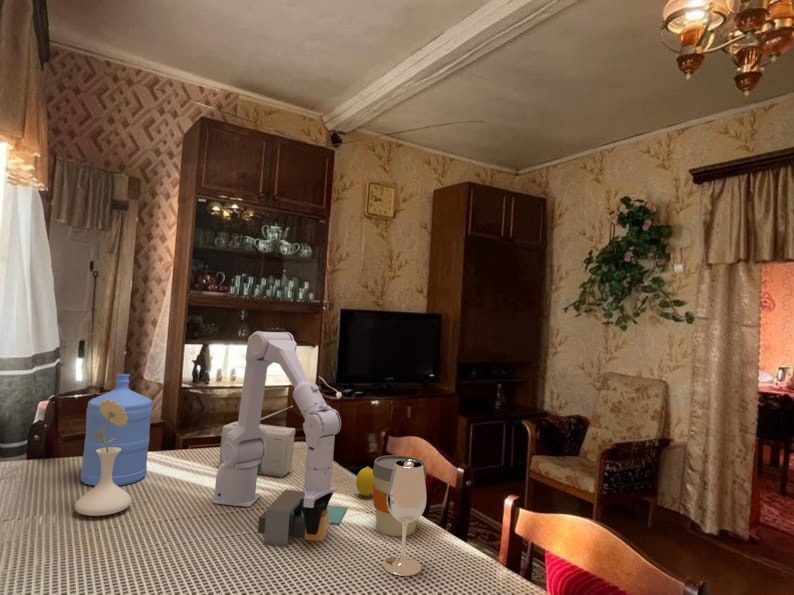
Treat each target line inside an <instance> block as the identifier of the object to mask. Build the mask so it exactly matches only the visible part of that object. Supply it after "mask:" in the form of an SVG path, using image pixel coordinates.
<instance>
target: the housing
mask: <svg viewBox="0 0 794 595" xmlns="http://www.w3.org/2000/svg"><path fill="white" fill-rule="evenodd" d="M304 497H305V495H304V491H301V490H293V489H285V490H283V492H281V493H280V495H278V496H277V498H276V499H275V500H274V501H273V502H272V503H271V504H270V505H269V506H268V507H267V508H266V511H265V512H266V521H265V533H263V534H264V535H263V536H264V538H263V544H264V545H271V546H278V547H279V546H280V547H288V546H289V545H290V543H291V542H292V540H293V537H292V529H293V516H294V515H295V516H303V517H304V515H303V512H302V510H301V508H300V505H299V502H300V500H301V499H302V498H304Z"/></svg>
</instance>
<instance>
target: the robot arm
mask: <svg viewBox="0 0 794 595" xmlns="http://www.w3.org/2000/svg"><path fill="white" fill-rule="evenodd" d="M246 345H247V346H246V354H245V359H244V360H245V368H244V374H243V375H244V376H243V382H242V389H241V390H242V391H241V397H240V405H239V412H238V413H239V414H238V417H237V418H238V419H237V420H238V425H237V426H236V427H234V428H233V429H232V430H231V431H229V432H228V433H227V434H226V440H225V442H224V444H223V447H222V451H221V455H222V459H223V461H224V463H222V464H221V465H220V464H219V467H218V469H217V472H216V476H215V485H214V486H215V487H214V500H212V504H217V505H226V506H237V507H245V508H250V507H251V506H252V505H253V504H255V503H256V502H257V501H258V500H259V498H261V497H262V495H261V494H260V493H256V492H257V491H256V490H257V479H258V473H257V469H258V464H260V463H261V460H262V459H263V458H264V456H265V454H266V442H265V438H266V434H265V432H264V431H263V430H261V429H260V428H259V426H260V424H261V420H260V419H261V418H262V410H263V401H264V396H265V389H266V388H265V387H266V382H267V381H266V380H267V373H268V367H269V366H271V365H272V364H273V363H275V364H278V365H279V366H280V367H281V369H282V371H283V373H284V374H285V375H286V377H287V379H288V380H289V382H290V384H291V385H292V387H293V388H294V390H293V393H292V398H293V399H294V402H295V404H296V405H297V407H298V409H299V411H300V413H301V415H302V416H303V419H304V422H303V423H302V427H303V432H304V434H305V443H306V444H305V446H307V449H306V463H305V473H304V474H305V476H304V485H303V492H304V495H305V497H304V498H302V499H301V500H300V502H299V505H300V508H301V510H302V512H303V515H304V519H305V526H306V532H307V534H312V535H316V534H317V532H318V528H319V524H320V519H321V515H322V512H323V510H326V509H327V506H328V505H329V503H330V500H331V499H332V497H333V495H334V493H336V491H337V487H336V486H332V475H333V465H334V464H333V462H334V451H335V450H334V449H335V435H337V434H339V433H340V431H341V429H342V428H341V427H342V419H341V416H340V413H339V411H338V410H336V409H335V408H332V407H331V406H330V405H328V403H327V402H326V401H325V399H324V397H323V395H322V393H321V391H320V390H319V386H318V385H317V383H315V382H312V381H309V379H308V378H307V376H306V373H305V371H304V369H303V365H302V364H301V362H300V359H299V357H298V355H297V353H296V351H297V347H298V346H297V342H296V340H295V338H294V336H293V334H292V333H291V332H288V331H281V332H277V331H274V332H273V331H261V330H256V331H254V332H253V333H252V334H251V335H250V336H248V338H247V344H246Z"/></svg>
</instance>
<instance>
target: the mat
mask: <svg viewBox="0 0 794 595" xmlns="http://www.w3.org/2000/svg"><path fill="white" fill-rule="evenodd" d="M326 510H328V511H329V516H328V520H331V523H328V524H329V525H333V526H334V525H335V526H336V525H337V526H340V524H341V522H342V520H343V519H344V517H345V515H346V513H347V511H348V506H341V505H340V506H339V505H330V504H328V506H327V509H326Z"/></svg>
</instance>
